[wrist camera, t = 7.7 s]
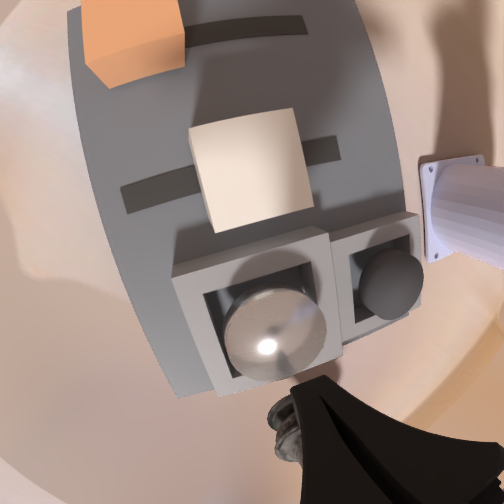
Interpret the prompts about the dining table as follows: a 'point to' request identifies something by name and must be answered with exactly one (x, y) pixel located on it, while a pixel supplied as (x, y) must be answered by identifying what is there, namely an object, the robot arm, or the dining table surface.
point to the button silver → (273, 331)
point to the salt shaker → (286, 431)
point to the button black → (391, 283)
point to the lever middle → (250, 168)
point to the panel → (258, 233)
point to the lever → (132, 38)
